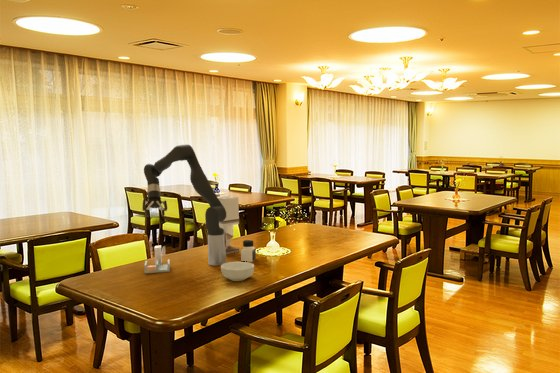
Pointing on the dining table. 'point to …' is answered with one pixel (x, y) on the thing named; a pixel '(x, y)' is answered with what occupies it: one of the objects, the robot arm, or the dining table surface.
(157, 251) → the panel
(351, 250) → the dining table surface
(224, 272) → the cereal bowl
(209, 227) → the robot arm
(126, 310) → the dining table surface
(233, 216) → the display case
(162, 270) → the slot rack
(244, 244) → the medicine bottle
